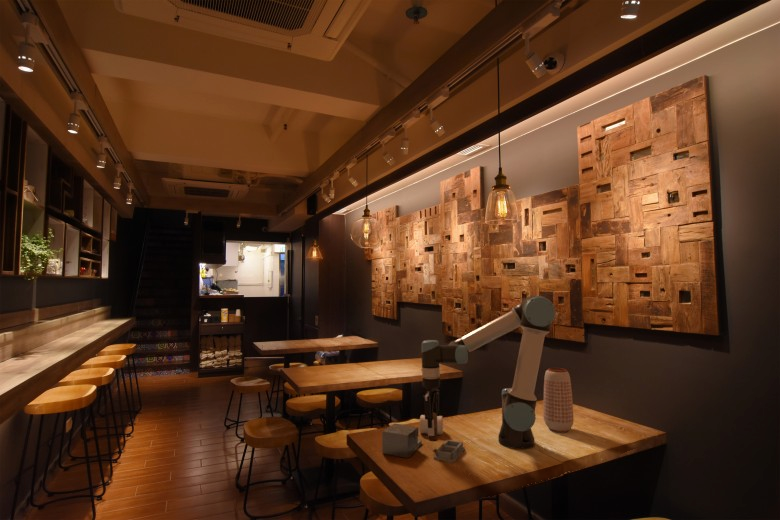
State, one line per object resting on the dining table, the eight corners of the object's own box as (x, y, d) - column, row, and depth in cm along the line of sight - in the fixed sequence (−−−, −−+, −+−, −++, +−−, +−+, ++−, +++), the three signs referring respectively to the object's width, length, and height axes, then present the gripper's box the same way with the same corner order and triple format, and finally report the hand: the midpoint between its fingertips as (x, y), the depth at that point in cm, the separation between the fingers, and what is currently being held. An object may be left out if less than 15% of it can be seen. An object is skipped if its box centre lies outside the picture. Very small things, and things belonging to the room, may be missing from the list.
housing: (418, 448, 177) (418, 427, 177) (407, 458, 167) (407, 435, 167) (394, 444, 182) (394, 423, 182) (382, 453, 172) (382, 431, 172)
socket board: (464, 449, 176) (464, 442, 176) (453, 462, 163) (453, 454, 163) (446, 446, 180) (446, 439, 180) (433, 459, 166) (433, 451, 167)
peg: (438, 439, 179) (437, 412, 180) (435, 441, 176) (434, 414, 176) (430, 437, 180) (430, 411, 181) (427, 440, 177) (426, 413, 178)
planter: (543, 431, 198) (541, 370, 200) (544, 423, 210) (542, 366, 212) (574, 435, 193) (572, 372, 195) (573, 426, 205) (571, 367, 207)
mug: (441, 437, 191) (441, 419, 192) (419, 435, 193) (419, 417, 194) (443, 428, 203) (443, 411, 203) (423, 427, 205) (422, 410, 205)
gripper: (429, 373, 189) (431, 426, 187) (415, 380, 174) (417, 438, 172) (445, 374, 186) (447, 428, 184) (432, 381, 171) (434, 441, 169)
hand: (432, 433), depth 178 cm, fingers closed on peg, 3 cm apart
